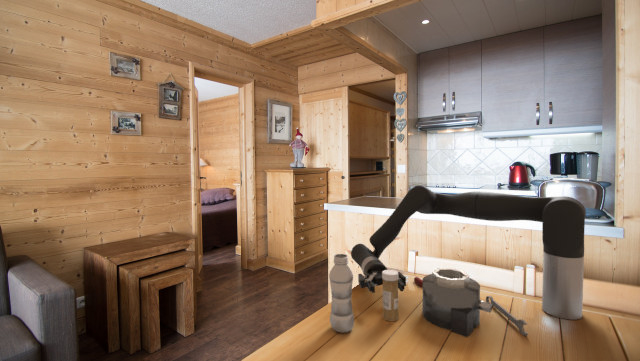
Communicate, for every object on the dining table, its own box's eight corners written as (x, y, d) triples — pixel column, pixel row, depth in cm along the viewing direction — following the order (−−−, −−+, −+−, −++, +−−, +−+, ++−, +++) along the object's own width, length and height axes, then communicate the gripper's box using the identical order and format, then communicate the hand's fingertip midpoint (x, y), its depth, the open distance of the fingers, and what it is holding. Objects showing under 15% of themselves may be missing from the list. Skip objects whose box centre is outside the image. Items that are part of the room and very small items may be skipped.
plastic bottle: (338, 338, 81) (336, 261, 80) (325, 326, 87) (324, 254, 86) (359, 331, 84) (358, 257, 83) (345, 320, 90) (344, 251, 89)
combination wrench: (485, 292, 99) (524, 324, 79) (489, 292, 99) (529, 324, 79) (485, 304, 99) (524, 339, 79) (489, 304, 99) (529, 339, 79)
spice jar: (401, 320, 89) (401, 273, 88) (386, 322, 88) (386, 275, 87) (394, 313, 94) (393, 268, 93) (379, 315, 93) (379, 269, 92)
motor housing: (436, 300, 101) (436, 261, 101) (499, 319, 89) (499, 275, 88) (412, 317, 91) (412, 274, 90) (479, 342, 78) (480, 292, 77)
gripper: (353, 260, 108) (363, 277, 92) (394, 258, 110) (411, 275, 93) (354, 282, 109) (364, 303, 93) (394, 279, 110) (412, 300, 94)
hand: (388, 289), depth 93 cm, fingers open, 8 cm apart
